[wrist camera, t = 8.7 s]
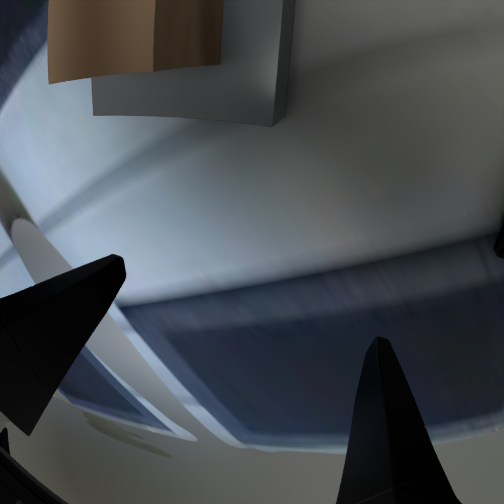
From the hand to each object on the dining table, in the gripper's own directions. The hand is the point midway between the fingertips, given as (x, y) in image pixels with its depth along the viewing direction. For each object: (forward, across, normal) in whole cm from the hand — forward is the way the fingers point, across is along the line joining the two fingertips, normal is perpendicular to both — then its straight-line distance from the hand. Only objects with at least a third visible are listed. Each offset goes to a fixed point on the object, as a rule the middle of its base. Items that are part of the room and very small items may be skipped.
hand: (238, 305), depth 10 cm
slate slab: (+12, +8, -9) cm, 17 cm away
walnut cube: (+9, +8, -9) cm, 15 cm away
